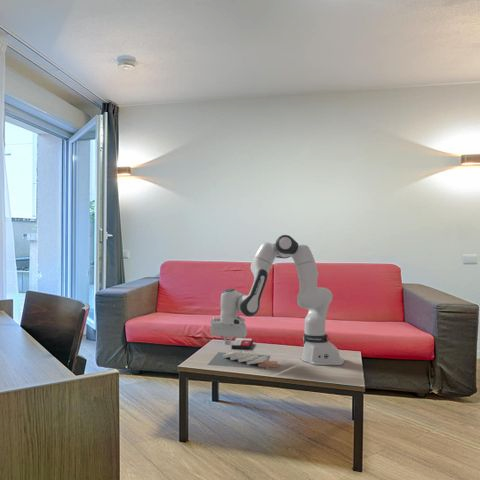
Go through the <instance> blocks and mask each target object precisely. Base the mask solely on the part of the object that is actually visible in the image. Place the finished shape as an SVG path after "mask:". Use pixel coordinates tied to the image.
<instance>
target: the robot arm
mask: <svg viewBox="0 0 480 480" xmlns="http://www.w3.org/2000/svg"><path fill="white" fill-rule="evenodd" d="M290 257H291V259H293V262H294V266H295V269H296V273H297V276H298V281H299V283H298V284H299V286H298V287H299V289H298V290H299V291H298V293H297V297H296V302H297V305H298V307H300V308H301V309H304V310H308V312H307V315H306V316H305V318H304V332H303V339H302V340H303V350H302V354H301V359H300V360H302V361H304V362H306V363H309V364H311V365H314V366H317V365H318V366H341V365H343V364H344V363H345V360H344V358H343V357H342V356H341V354H340V351H339V349H338V348H337V346H336V345H334V344H333V343H332V342H331V341H330V340H331V337H330V335H328V334H327V333H326V319H327V314H328V311H329V306H330V304H331V303H332V300H333V297H334V296H333V293H332V291H331V290H330V289H329V288H327V287H323V286H319V287H318V279H319V271H318V268H317V265H316V261H315V258H314V255H313V253H312V251H311V248H310V247H309V246H308V245H307V244H299V243H298V242H297V241H296V240H295V239H294V238H293V237H292V236H291V235H288V234H282V235H280V236H279V237H277V239H276V240H275V242H274V243H272V242H265V241H264V242H262V243H261V245H260V246H259V247H258V249H257V250H256V252H255V254H254V256H253V258H252V260H251V263H250V272H251V273H252V275H253V282H252V285H251V289H250V290H249V294H247V295H246V294H243V293H242V292H239V291H237V290H236V289H235V288H229V289H224V290H223V291H222V292H221V295H220V314H219V315H220V318H218V317H217V318H216V317H213V318H211V320H210V332H209V333H210V335H211V336H217V337H218V336H219V337H222V338H223V341H224V345H225V346H232V341H233V339H234V338H246V336H247V335H248V332H247V325H246V324H245V322H246V320H245V318H243V317H241V316H239V315H238V314H237V313H238V312H239V313H242V314H244V316H246V317H253V316H255V315H256V314H257V313H259V310H260V302H261V298H262V295H263V292H264V289H265V286H266V283H267V280H268V276H269V273H270V270H271V268H272V265H273V263H274V261H275V259H276V258H277V259H278V258H279V259H288V258H290ZM227 337H228V338H229V340H228V339H227Z"/></svg>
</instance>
